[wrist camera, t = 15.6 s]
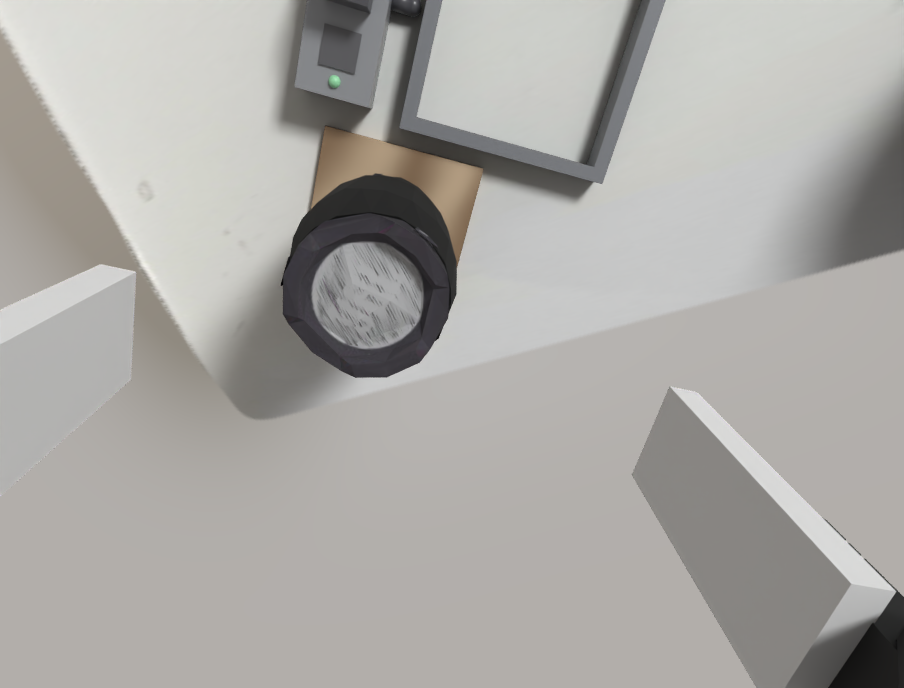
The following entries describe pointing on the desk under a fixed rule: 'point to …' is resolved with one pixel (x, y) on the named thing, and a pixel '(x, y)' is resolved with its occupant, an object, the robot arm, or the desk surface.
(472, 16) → the desk surface
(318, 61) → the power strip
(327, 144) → the cork mat
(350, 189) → the portable speaker
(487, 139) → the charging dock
